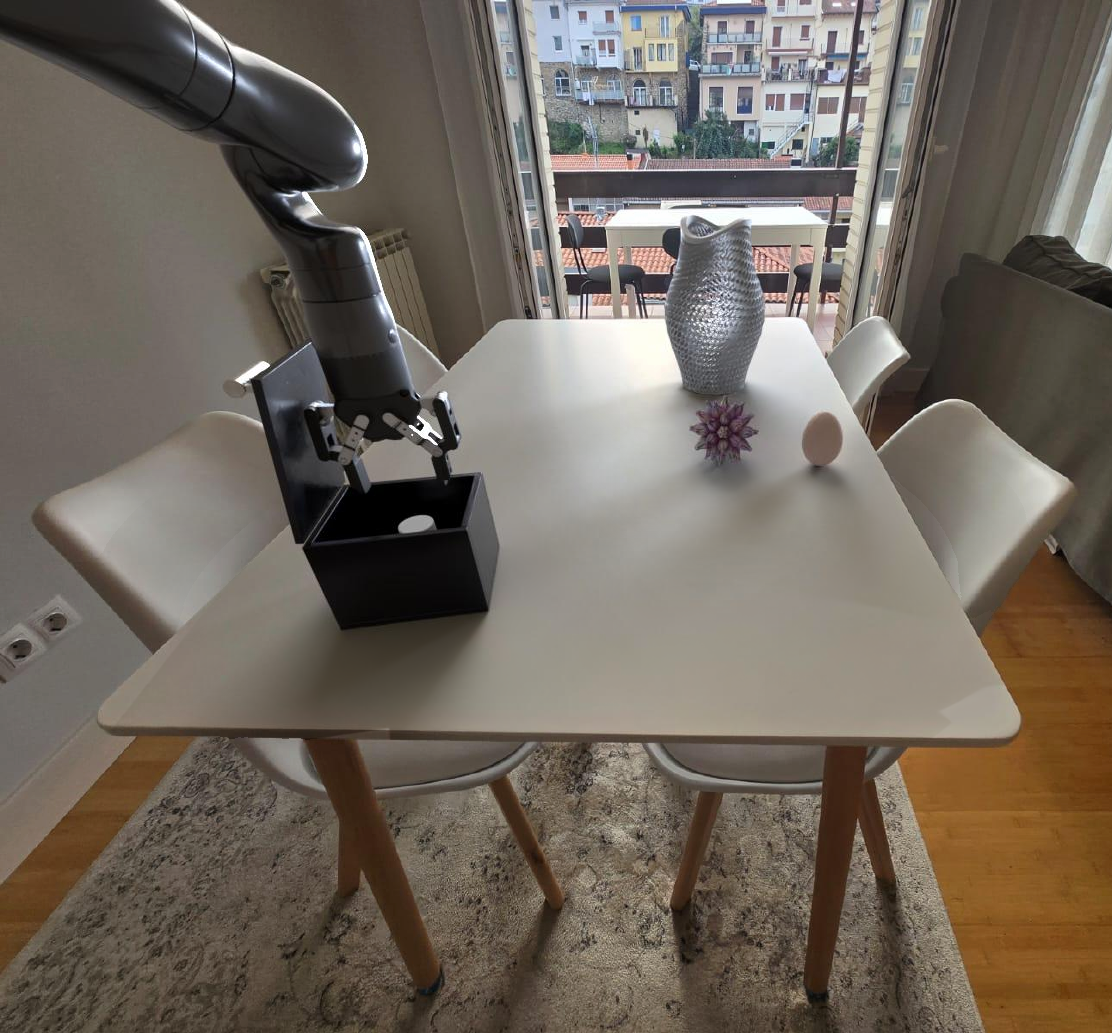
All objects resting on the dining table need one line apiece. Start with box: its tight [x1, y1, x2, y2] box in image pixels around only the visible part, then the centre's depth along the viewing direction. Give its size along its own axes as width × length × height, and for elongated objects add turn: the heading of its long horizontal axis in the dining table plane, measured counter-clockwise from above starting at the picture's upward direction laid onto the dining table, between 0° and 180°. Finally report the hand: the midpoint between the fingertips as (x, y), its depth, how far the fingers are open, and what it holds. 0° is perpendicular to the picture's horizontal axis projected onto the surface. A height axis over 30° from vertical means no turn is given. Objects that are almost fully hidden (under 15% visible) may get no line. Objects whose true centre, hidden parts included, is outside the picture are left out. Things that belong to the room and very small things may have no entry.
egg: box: [801, 410, 844, 467], centre depth 96 cm, size 7×7×10 cm
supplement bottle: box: [398, 515, 437, 534], centre depth 69 cm, size 5×5×8 cm
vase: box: [663, 214, 766, 395], centre depth 124 cm, size 22×22×35 cm
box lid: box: [222, 337, 346, 545], centre depth 59 cm, size 18×14×5 cm
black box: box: [301, 471, 501, 631], centre depth 69 cm, size 17×14×12 cm
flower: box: [688, 395, 760, 466], centre depth 97 cm, size 12×12×12 cm
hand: (405, 486), depth 64 cm, fingers open, 8 cm apart
